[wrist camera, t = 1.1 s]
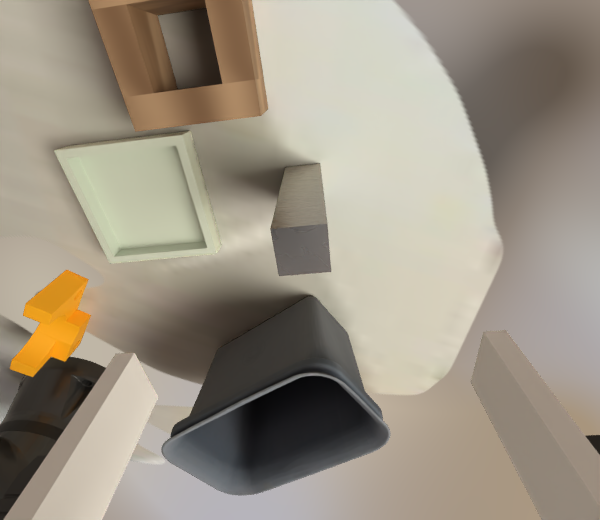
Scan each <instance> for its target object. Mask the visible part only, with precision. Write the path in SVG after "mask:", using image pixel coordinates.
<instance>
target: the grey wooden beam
mask: <svg viewBox="0 0 600 520" xmlns="http://www.w3.org/2000/svg"><path fill="white" fill-rule="evenodd" d="M271 235H272V240H273V246H274V252H275V257H276V263H277V268H278V274H279V276H286V275H298V274H310V273H322V272H331V265H330V252H329V239H328V227H327V217H326V209H325V200H324V192H323V184H322V175H321V167H320V163H318V164H309V165H300V166H291V167H285V171H284V175H283V179H282V183H281V187H280V191H279V196H278V200H277V204H276V208H275V212H274V216H273V221H272V225H271Z"/></svg>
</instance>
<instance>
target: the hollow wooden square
mask: <svg viewBox="0 0 600 520" xmlns="http://www.w3.org/2000/svg"><path fill="white" fill-rule="evenodd" d="M88 1H89V4H90V6H91V9H92V12H93V15H94V18H95V20H96V23H97V26H98V29H99V32H100V34H101V37H102V40H103V43H104V45H105V48H106V51H107V54H108V57H109V59H110V62H111V65H112V68H113V71H114V73H115V76H116V79H117V82H118V84H119V87H120V90H121V93H122V96H123V98H124V101H125V104H126V107H127V110H128V112H129V115H130V118H131V121H132V123H133V126H134V129H135V132H136V131H144V130H152V129H160V128H168V127H176V126H184V125H192V124H200V123H208V122H215V121H223V120H231V119H239V118H247V117H255V116H261V115H262V114H263V113H264V112H265V111H266V110H267V109H268V104H267V98H266V91H265V84H264V78H263V71H262V65H261V58H260V52H259V45H258V38H257V32H256V25H255V19H254V12H253V6H252V0H88ZM202 8H207V13H208V18H209V22H210V27H211V32H212V37H213V41H214V46H215V51H216V55H217V60H218V65H219V70H220V74H221V79H222V84H215V85H208V86H201V87H193V88H186V89H178V88H177V84H176V81H175V77H174V74H173V70H172V66H171V63H170V59H169V56H168V52H167V48H166V45H165V41H164V37H163V34H162V30H161V27H160V23H159V19H158V16H157V15H163V14H170V13H176V12H182V11H189V10H195V9H202Z"/></svg>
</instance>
